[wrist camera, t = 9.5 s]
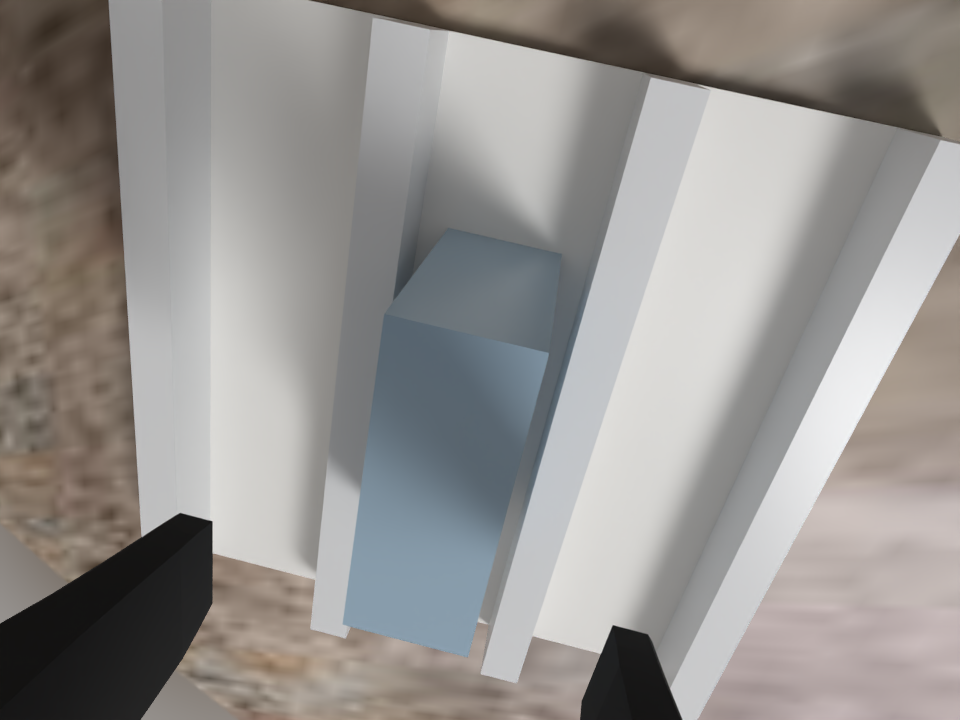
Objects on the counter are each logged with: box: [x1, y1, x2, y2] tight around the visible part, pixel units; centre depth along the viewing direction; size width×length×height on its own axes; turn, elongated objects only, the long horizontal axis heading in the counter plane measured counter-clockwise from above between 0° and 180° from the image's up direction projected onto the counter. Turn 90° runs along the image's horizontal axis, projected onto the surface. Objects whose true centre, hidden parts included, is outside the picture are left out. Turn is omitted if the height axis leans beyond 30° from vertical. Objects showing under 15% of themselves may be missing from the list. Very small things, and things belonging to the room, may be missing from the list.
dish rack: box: [109, 0, 960, 720], centre depth 18 cm, size 18×18×2 cm
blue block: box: [343, 228, 562, 657], centre depth 16 cm, size 3×8×6 cm, turn 169°
